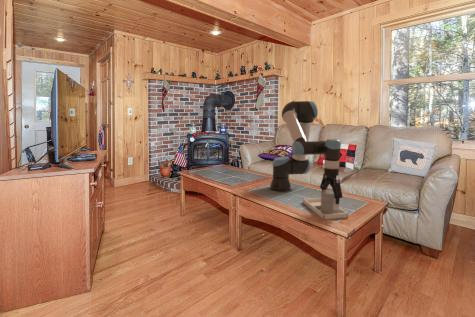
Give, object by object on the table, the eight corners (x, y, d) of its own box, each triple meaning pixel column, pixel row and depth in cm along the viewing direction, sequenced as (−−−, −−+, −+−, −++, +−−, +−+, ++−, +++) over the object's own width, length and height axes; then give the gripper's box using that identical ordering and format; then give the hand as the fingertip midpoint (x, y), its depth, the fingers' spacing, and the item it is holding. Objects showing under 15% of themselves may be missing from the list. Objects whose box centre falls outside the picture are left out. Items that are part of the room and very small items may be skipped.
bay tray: (303, 202, 168) (303, 198, 168) (324, 201, 170) (324, 197, 170) (323, 219, 141) (323, 214, 141) (348, 217, 143) (348, 213, 143)
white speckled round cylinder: (323, 208, 156) (324, 188, 154) (340, 211, 150) (341, 190, 148) (318, 213, 148) (319, 192, 146) (335, 217, 143) (337, 195, 141)
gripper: (351, 172, 133) (348, 212, 137) (327, 163, 158) (325, 197, 161) (337, 173, 132) (334, 213, 136) (315, 163, 156) (313, 198, 160)
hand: (329, 205), depth 148 cm, fingers open, 13 cm apart
